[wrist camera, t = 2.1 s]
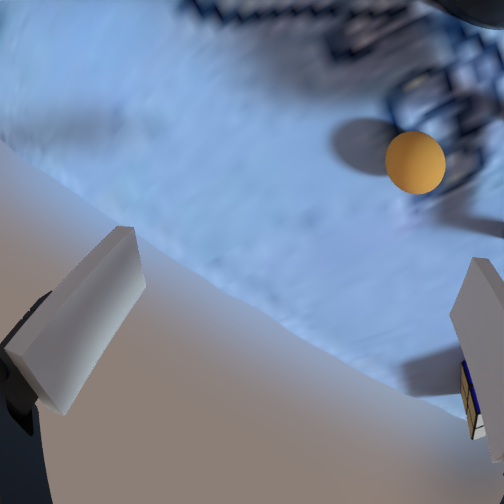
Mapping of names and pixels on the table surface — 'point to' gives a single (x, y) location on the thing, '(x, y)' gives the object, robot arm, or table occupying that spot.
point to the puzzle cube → (471, 404)
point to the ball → (415, 162)
